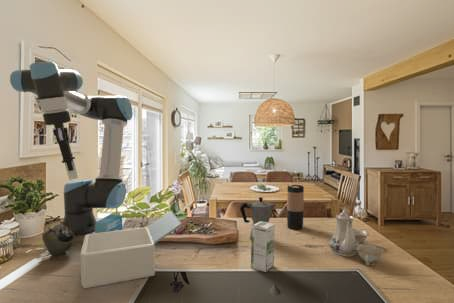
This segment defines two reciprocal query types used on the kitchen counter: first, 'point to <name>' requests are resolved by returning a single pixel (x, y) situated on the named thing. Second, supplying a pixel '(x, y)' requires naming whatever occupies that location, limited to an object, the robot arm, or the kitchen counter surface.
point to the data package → (109, 224)
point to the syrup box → (262, 246)
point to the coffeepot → (258, 212)
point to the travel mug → (295, 207)
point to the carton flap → (164, 226)
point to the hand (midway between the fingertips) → (73, 178)
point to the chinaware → (352, 241)
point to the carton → (117, 257)
